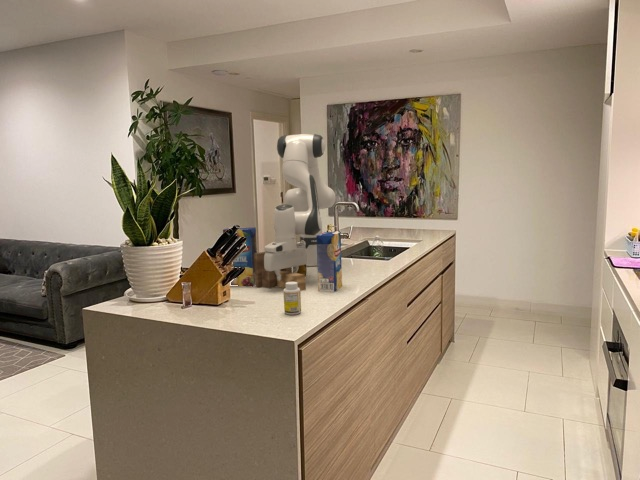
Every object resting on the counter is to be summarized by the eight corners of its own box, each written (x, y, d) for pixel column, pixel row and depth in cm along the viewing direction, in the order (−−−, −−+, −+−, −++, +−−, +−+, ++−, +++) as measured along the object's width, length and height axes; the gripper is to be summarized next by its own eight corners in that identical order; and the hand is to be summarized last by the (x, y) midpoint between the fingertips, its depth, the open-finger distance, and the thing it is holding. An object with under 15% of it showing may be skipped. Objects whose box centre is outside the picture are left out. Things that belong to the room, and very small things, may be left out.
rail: (305, 289, 196) (305, 274, 196) (297, 291, 194) (297, 276, 193) (280, 283, 208) (279, 269, 207) (272, 285, 205) (272, 271, 205)
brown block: (295, 282, 210) (294, 250, 208) (265, 289, 199) (264, 255, 197) (285, 280, 215) (284, 248, 213) (255, 286, 204) (253, 253, 202)
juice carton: (258, 282, 212) (255, 227, 209) (253, 286, 205) (250, 229, 201) (232, 282, 214) (228, 227, 211) (226, 286, 207) (222, 229, 203)
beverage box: (342, 285, 201) (340, 232, 198) (335, 291, 191) (333, 235, 188) (326, 284, 203) (324, 232, 200) (318, 291, 193) (316, 235, 190)
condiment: (310, 276, 222) (309, 250, 220) (294, 279, 217) (293, 252, 215) (302, 274, 228) (301, 248, 226) (286, 276, 223) (284, 250, 222)
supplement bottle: (292, 309, 167) (291, 280, 166) (304, 312, 164) (303, 282, 162) (280, 313, 163) (279, 283, 162) (293, 316, 160) (291, 285, 158)
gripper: (300, 241, 208) (301, 273, 210) (260, 247, 195) (262, 281, 196) (310, 242, 204) (311, 275, 206) (270, 248, 190) (272, 283, 192)
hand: (287, 278), depth 201 cm, fingers open, 6 cm apart
